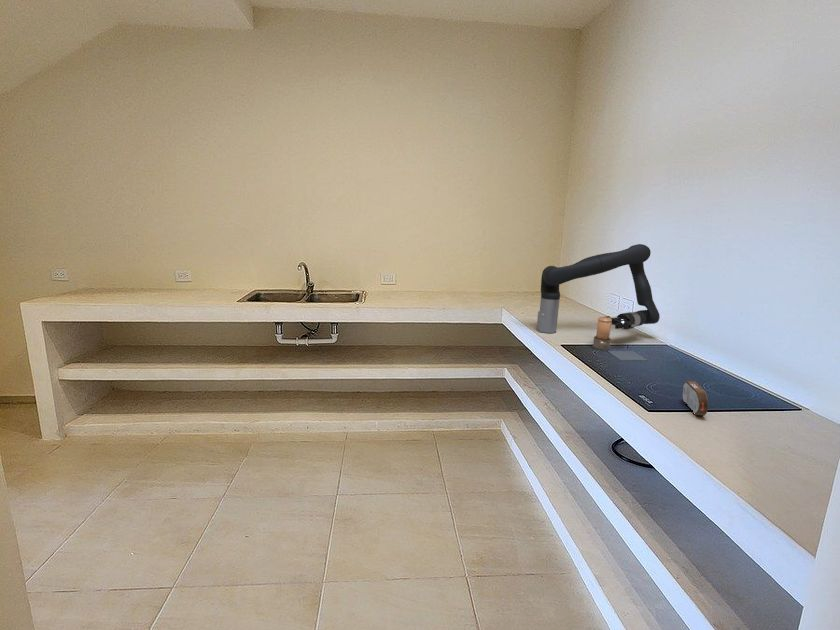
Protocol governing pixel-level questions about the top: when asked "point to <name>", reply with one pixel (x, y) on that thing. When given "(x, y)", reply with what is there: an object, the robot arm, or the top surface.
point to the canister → (601, 344)
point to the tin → (695, 397)
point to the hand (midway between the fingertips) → (607, 324)
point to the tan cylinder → (603, 328)
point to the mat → (627, 356)
